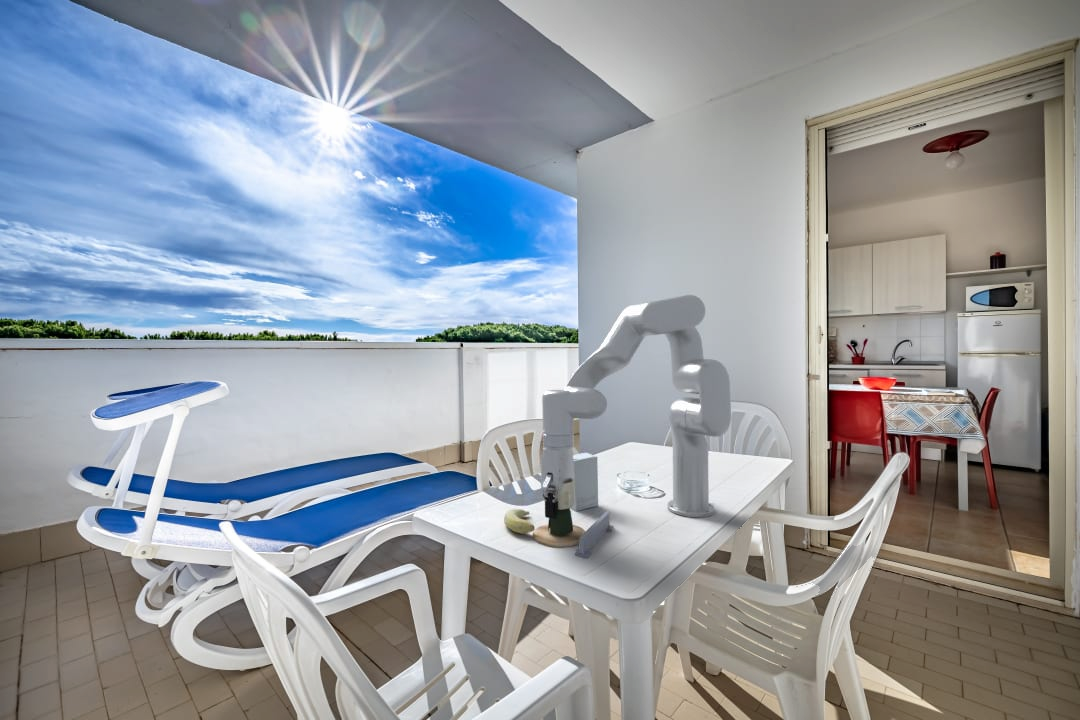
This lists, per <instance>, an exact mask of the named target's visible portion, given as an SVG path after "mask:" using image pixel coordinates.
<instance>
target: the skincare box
mask: <svg viewBox="0 0 1080 720" xmlns="http://www.w3.org/2000/svg"><path fill="white" fill-rule="evenodd" d="M573 461H574V496H575V502H574V506H573V507H571V508H570V510H573V511H575V512H577V511H581V510H582V511H583V510H585V509H590V508H594V507H598V506H599V479H598V478H599V476H598V475H599V474H598V456H597V455H594V454H591V453H588V452H581V453H577V454H573Z"/></svg>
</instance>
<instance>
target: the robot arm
mask: <svg viewBox="0 0 1080 720" xmlns="http://www.w3.org/2000/svg"><path fill="white" fill-rule="evenodd" d="M705 316H706V306H705V304H704V302H703V300H702V299H701V298H700V297H698V296H697V295H694V294H685V295H679V296H673V297H665V298H662V299H658V300H653V301H646V302H639V303H634V304H631V305H629V306H627V307H624V309H623V310H622V312H621V313H620V314H619V316H618V318H617V319H616V321H615V322H614V323H613V325H612V327H611V328H610V331H609V332H608V334H607V335H606V337H605V338H604V340H603V341H602V343H601V345H600V346H599V347H598V348H597V349H596V350H595V351H594V352H593V353H592V354H591V355H590V356H588V357H587V359H586V360H584V361H583V362H582V363H581V364H580V365H579V366H578V367H577V368H576V370H575V371H574V372H573V373H572V375H571V377H570V378H569V379H568V381H567V382H566V384H565V386H564V388H563V389H549V390H546V391H544V392H543V394H542V398H541V399H542V401H541V402H542V403H541V404H542V447H543V449H542V454H541V455H542V456H541V465H540V488H541V492H542V496H543V501H544V516H545V518H547V519H549V518H552V519H557V518H558V502H557V501H556V500H557V495H558V491H560V490H561V489H562V485H563V483H569V482H571V478H573V479H574V461H573V455H574V452H573V451H574V450H573V448H574V447H575V441H574V440H575V438H574V437H575V436H574V435H575V433H574V432H575V430H574V429H575V427H574V425H575V424H574V420H575V419H578V420H579V419H580V420H581V419H582V420H594V419H597V418H599V417H601V416H602V415H603V414H604V413H605V412H606V410H607V406H608V401H607V398H606V396H605V395H604V394H603V393H602V391H600V390H597V389H595V388H596V387H597V385H598V384H599V383H600V382H602V381H603V380H604V379H606V378H607V377H609V376H611V375H613V374H615V373H617V372H619V371H621V370H623V369H625V368H626V367H627V366H628V365H629V364H630V362H631V360H632V359H633V357H634V355H635V354H636V351H637V350H639V347H640V345H641V343H642V342H643V341H644V339H645V337H647V336H659V335H665V336H666V338H667V340H668V343H669V346H670V348H669V349H670V359H671V379H672V380H671V381H672V385H673V386H674V387H675V389H676V390H677V391H678V392H682V393H687V394H694V395H695V394H696V395H699V397H691V396H685V397H680V398H677V399H675V400H674V401H673V402H672V403H671V405H670V407H669V409H668V420H669V421H668V422H669V427H670V431H671V438H672V439H671V440H672V499H671V500H669V501H668V502H667V509H668V510H669V511H670V512H671V513H673V514H676V515H679V516H683V517H689V518H704V517H706V518H707V517H710V516H712V515H714V514H715V511H716V510H715V509H716V508H715V506H714V505H713V504H712V503H710V501H709V500H710V499H709V496H710V495H709V445H708V440H707V439H706V438H707V437H712V438H713V437H714V438H716V437H721V436H724V434H726V433H727V432H728V430H729V428H730V425H731V419H732V404H731V382H730V375H729V373H728V370H727V368H726V366H725V365H724V364H723V363H722V362H720V361H719V360H716V359H713V358H712V359H710V358H709V359H707V358H704V350H703V343H702V338H701V334H700V332H699V331H698V329H697V328H696V327H697V326H698V325H700V324H701V323H702V322H703V320H704V318H705ZM706 436H707V437H706ZM550 485H555V486H556V488H550ZM550 491H552V492H554V495H552V494H551V493H550Z"/></svg>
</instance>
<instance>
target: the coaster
mask: <svg viewBox="0 0 1080 720" xmlns="http://www.w3.org/2000/svg"><path fill="white" fill-rule="evenodd" d="M585 532H586V530H585V529H584V528H583V527H580V526H578V525H575V524H573V531H572V532H570V533H567V534H564V535H554V534H551V533H550V528H549V531H548V523H547V524H544V525H540V526H539V527H537V528H535V529H534V530H533V531H532V537H533V540H534V541H535V542H536V543H538V544H540V545H542V546H545V547H551V548H570V547H573V546H577V545H579V538H580V537H581V536H582V535H583V534H584V533H585Z"/></svg>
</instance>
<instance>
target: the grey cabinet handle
mask: <svg viewBox="0 0 1080 720" xmlns="http://www.w3.org/2000/svg"><path fill="white" fill-rule="evenodd" d="M610 515H611V513H610V511H605V512H604V513H603V514H601V516H599V518H598V519H596V520H595V522H594V523H592V525H590V527H588V528H587V529H586V530H585V533H584V534H583V535H582V536H581V537H580V538H579V544H578V549H577V550H576V551H575V552H574V556H576V557H582V558H587V559H588V558H589V557H590V556H591V555H592V551H593V550H591V549H592V548H593V547H594V546H595V545H596V544H597V543H598V542H599V541H600V539H601V538H602V537H603V536H604V535H605V534H606V533H607V532H612V531H613V530H614V528H615V526H614V525H611V522H610V518H611V517H610Z"/></svg>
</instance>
